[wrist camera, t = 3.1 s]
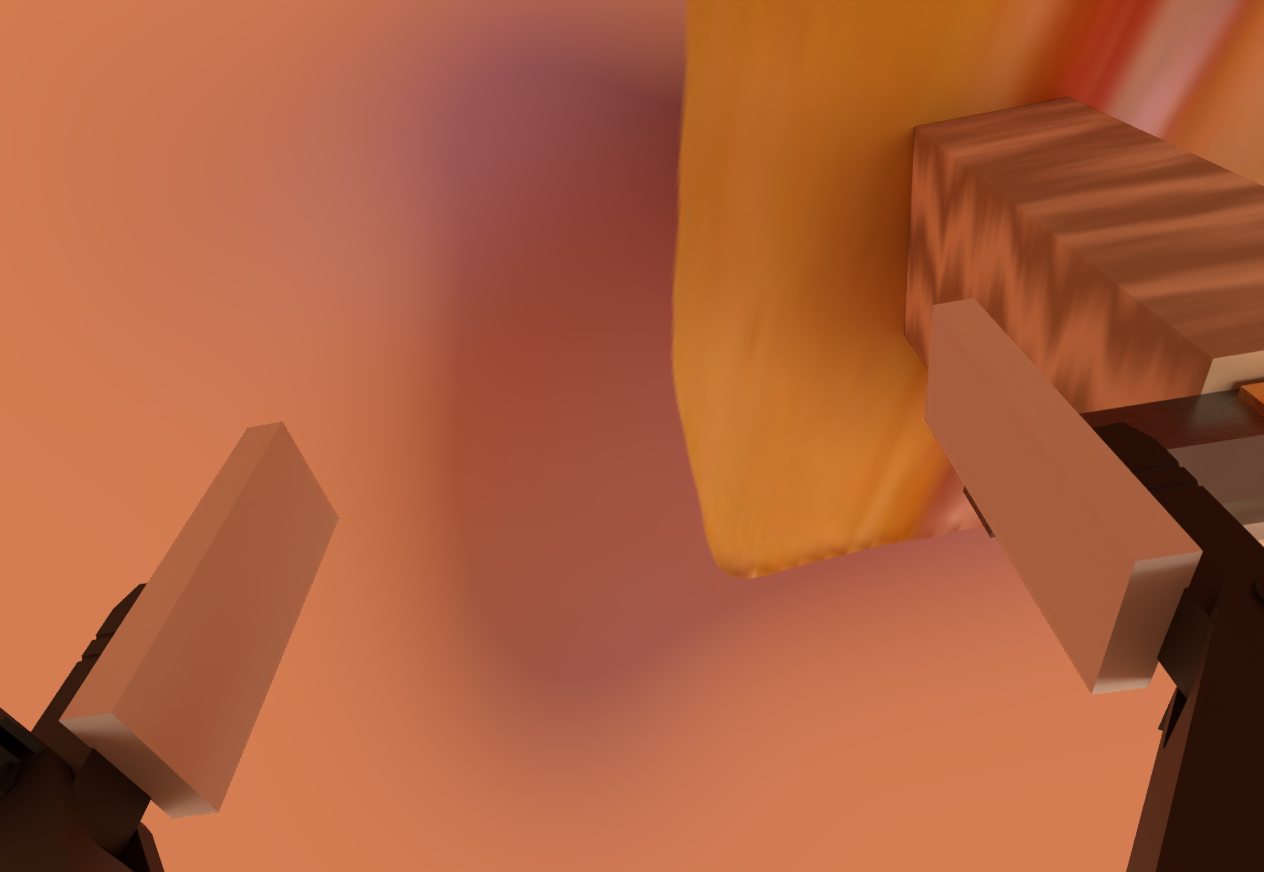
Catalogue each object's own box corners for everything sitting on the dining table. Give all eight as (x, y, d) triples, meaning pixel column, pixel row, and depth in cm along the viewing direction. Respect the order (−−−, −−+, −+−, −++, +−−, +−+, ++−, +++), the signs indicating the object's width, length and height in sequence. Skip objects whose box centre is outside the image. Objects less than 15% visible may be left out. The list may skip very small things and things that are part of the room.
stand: (914, 126, 49) (1243, 382, 24) (1069, 97, 48) (1576, 329, 23) (904, 334, 59) (1131, 672, 34) (1032, 312, 58) (1364, 641, 33)
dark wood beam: (971, 422, 27) (1030, 506, 23) (1510, 336, 25) (1662, 412, 22) (963, 491, 29) (1015, 579, 25) (1461, 415, 27) (1592, 497, 24)
